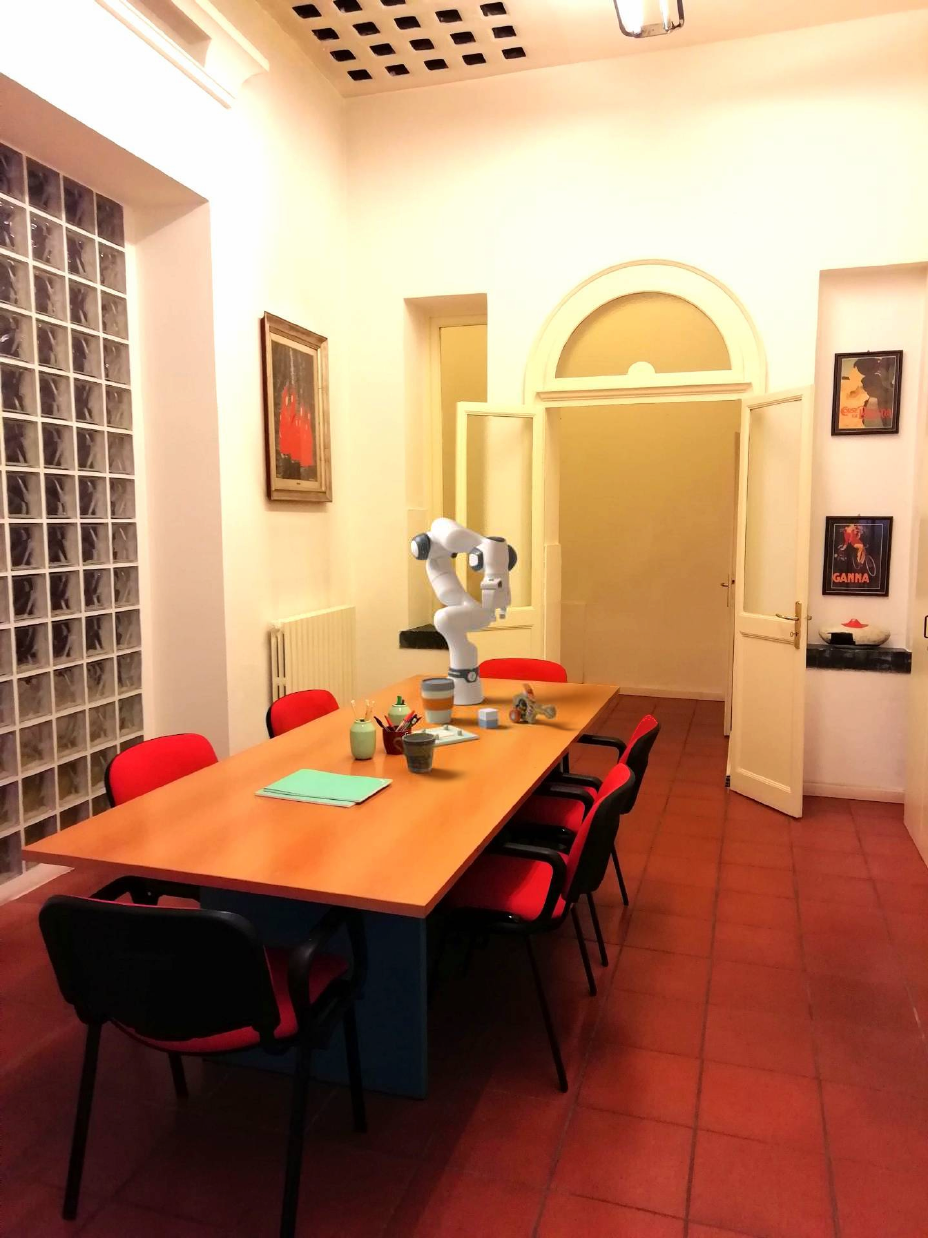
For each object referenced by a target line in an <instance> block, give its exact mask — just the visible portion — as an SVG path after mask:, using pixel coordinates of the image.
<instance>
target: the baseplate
mask: <svg viewBox="0 0 928 1238" xmlns="http://www.w3.org/2000/svg"><path fill="white" fill-rule="evenodd" d="M412 732H413V733H430V734H433V735H435V736H436V741H435V747H441V746H444V745H450V744H455V743H461V742H467V741H473V740H478V739H479V735H477V734H474V733H473V732H472V733H471V732H470V731H467V730H464V729H462V728H458V727H456V726H453V725H451V724H450V725H448V724H445V725H443V726H438V727H434V728H428V729H427V728H421V729H420V730H416V731H415V730H414V731H412Z"/></svg>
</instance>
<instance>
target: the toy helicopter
mask: <svg viewBox="0 0 928 1238" xmlns="http://www.w3.org/2000/svg"><path fill="white" fill-rule="evenodd" d="M522 687H523V689H524V691H523V692H520V693H516V694H515V695H513V698H512V708H513V709H511V710H509V712H508V718H509V720H510V722H512V723H513V724H514V723H515V724H516V723H519V722H520V721H521V720H522V721H526V722H528V723H529V724H530V725H532V724H536V723H537V722H536V718H537V716H538V715H539V716H544V717H545V718H546V719H548V720H552V719H555V718H556V716H557V710H556V707H554V705H553V704H548V705H542V704H539V703H537V702H536V700H537V699H536V695H535V694H534V691H533V689H532V687H531V685H530V684H529V683H522Z"/></svg>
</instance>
